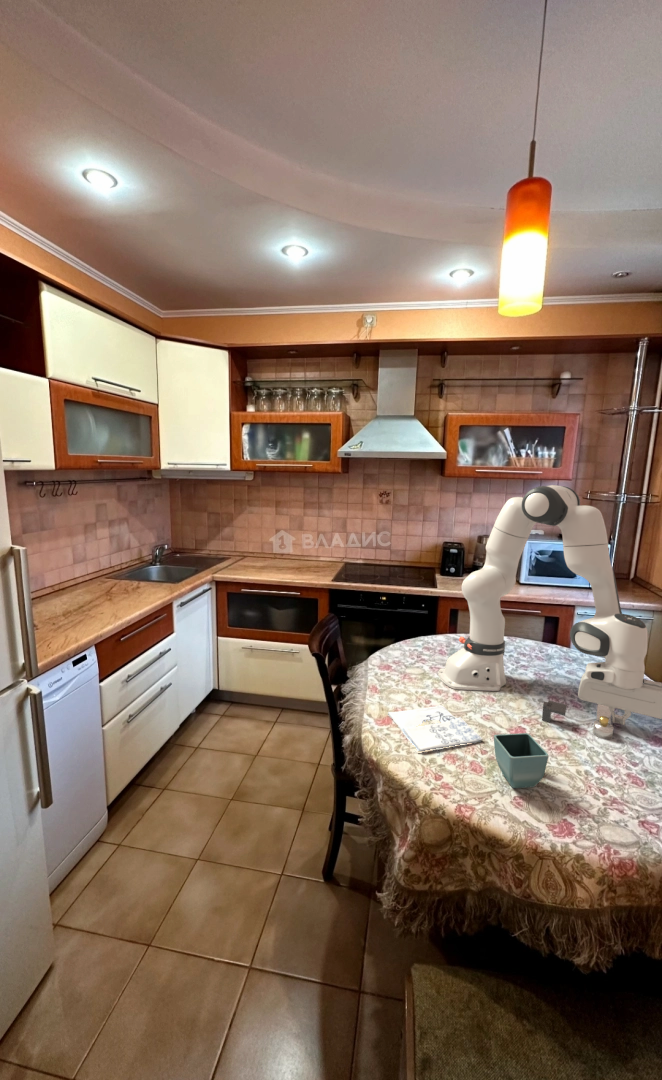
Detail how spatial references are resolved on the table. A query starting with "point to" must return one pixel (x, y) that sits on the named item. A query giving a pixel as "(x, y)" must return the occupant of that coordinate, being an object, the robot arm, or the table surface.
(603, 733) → the link
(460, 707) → the table surface
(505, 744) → the flower pot
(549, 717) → the pintle base
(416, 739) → the white illustrated notebook
